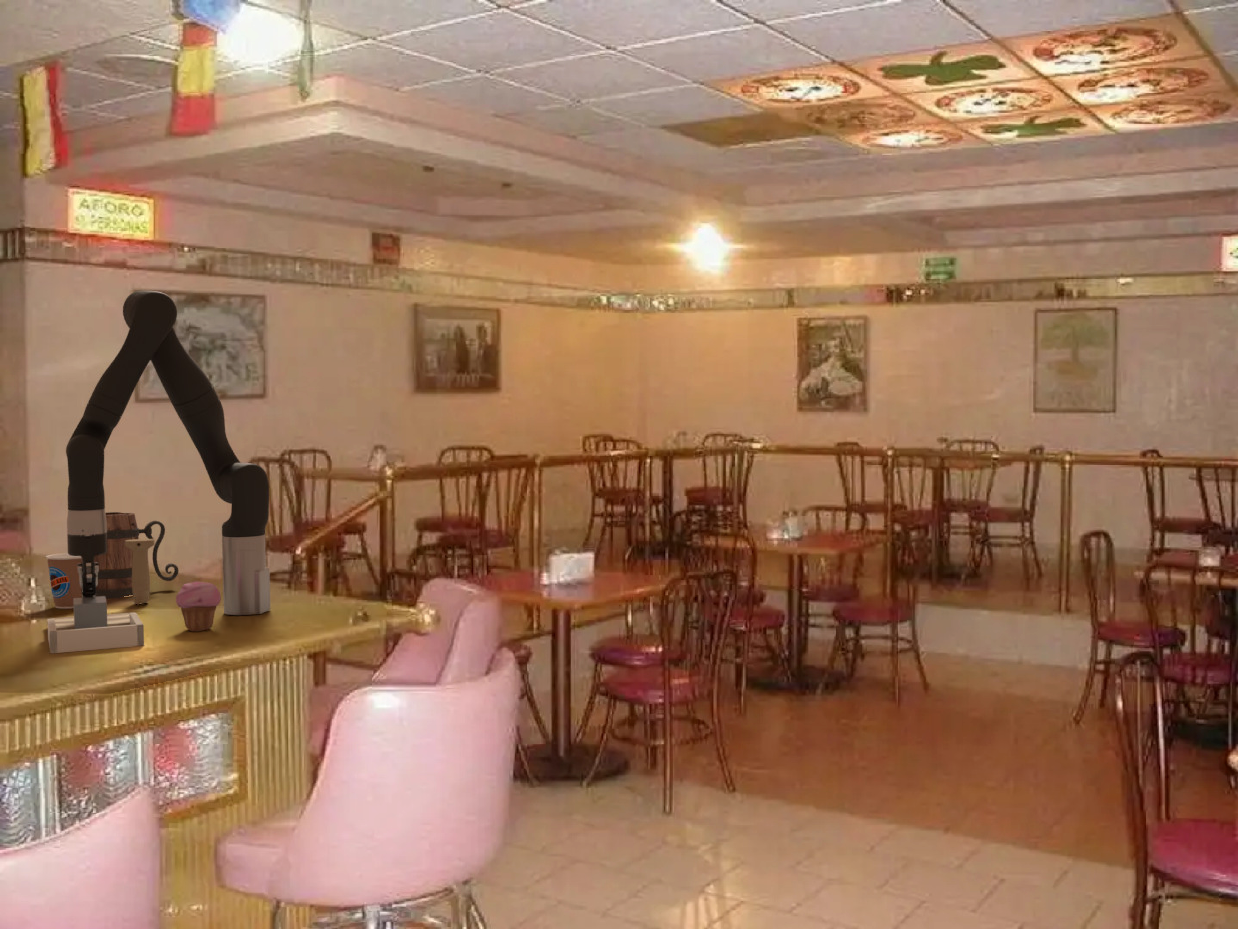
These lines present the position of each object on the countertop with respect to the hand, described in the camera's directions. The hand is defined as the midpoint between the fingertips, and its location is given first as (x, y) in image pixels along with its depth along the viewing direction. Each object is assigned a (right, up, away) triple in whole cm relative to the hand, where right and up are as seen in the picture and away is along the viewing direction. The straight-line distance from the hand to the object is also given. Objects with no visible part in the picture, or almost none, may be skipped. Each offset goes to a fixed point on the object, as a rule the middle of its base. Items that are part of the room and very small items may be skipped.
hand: (89, 615), depth 262 cm
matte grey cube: (+2, -1, -5) cm, 6 cm away
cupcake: (+23, -3, -1) cm, 23 cm away
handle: (-3, -2, +36) cm, 36 cm away
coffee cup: (-18, -2, +33) cm, 38 cm away
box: (+7, -4, -13) cm, 15 cm away
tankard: (-13, -1, +55) cm, 56 cm away
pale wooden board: (0, -3, 0) cm, 3 cm away
